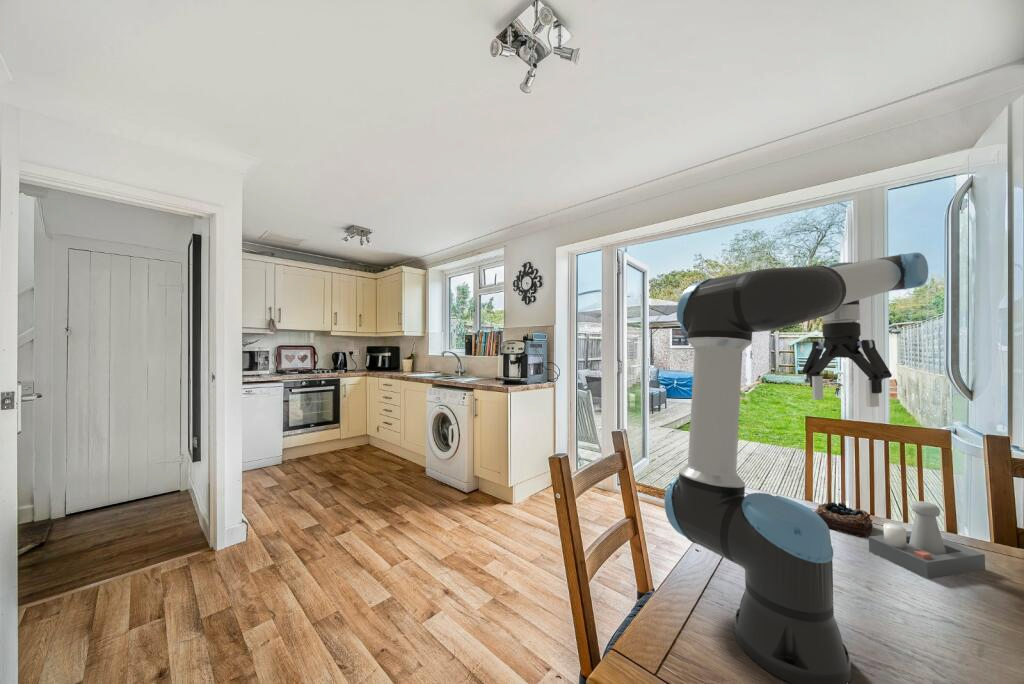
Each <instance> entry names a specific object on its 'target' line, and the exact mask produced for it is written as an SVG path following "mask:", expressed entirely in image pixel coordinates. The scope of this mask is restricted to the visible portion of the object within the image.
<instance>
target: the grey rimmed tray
mask: <svg viewBox="0 0 1024 684" xmlns="http://www.w3.org/2000/svg"><path fill="white" fill-rule="evenodd" d="M911 532H912V530H911V531H907V530H906V528H905V527H904V526H902V525H898V524H894V523H889V522H887V523H883V534H880V535H873V536H872V535H871V536H868V552H870V553H872V554H874V555H876V556H878V557H880V558H883V559H885V560H887V561H889V562H891V563H892V564H895V565H897V566H899V567H900V568H901V567H902V568H903V569H905V570H908V571H910V572H911V573H914V574H916V575H917V576H920V577H922V578H925V579H926V580H932V579H937V578H944V577H951V576H958V575H964V574H971V573H972V574H973V573H977V572H984V570H985V571H986V553H982V552H979V551H977V550H975V549H972V548H971V547H970V548H969V547H967V546H964V545H961V544H959V543H956V542H953V541H950V540H948V539H946V538H943V537H942V540H943V543H944V546H945V549H946V552H947V554H941V555H934V554H931V553H929V552H927V551H924V550H922V549H920V548H917V547H915V546H912V545H910V544H909V542H910V537H911Z"/></svg>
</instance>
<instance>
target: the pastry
mask: <svg viewBox="0 0 1024 684" xmlns="http://www.w3.org/2000/svg"><path fill="white" fill-rule="evenodd" d="M814 512H815V513H817V514H818V515H819V516H820V517H821V518H822V519H823V521H825V523H826V524H827V526H828V528H829V530H830V529H831V530H833V531H838V532H841V533H845V534H849V535H852V536H856V537H860V538H861V537H862V538H866V537H869V535H870V534H871V533H872V531H873V528H874V527H873V526H874V525H873V523H872V522H873V519H871V514H870V513H869V512H867V511H865V510H864V509H860V508H855V509H852V508H851V507H847V505H846V504H845V503H844V502H839V503H838V504H837V503H836V502H830V503H829V502H828V503H827V502H824V503H821V504H819V505H818V507H816V509H815V510H814Z"/></svg>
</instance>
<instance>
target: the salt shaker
mask: <svg viewBox="0 0 1024 684" xmlns="http://www.w3.org/2000/svg"><path fill="white" fill-rule="evenodd" d="M911 508H912V509H911V510H912V511H913V512H914V513H915V515H914V519H913V523H912V528H911V531H912V532H911V537H910V542H909V544H910V545H912V546H915V547H917V548H920V549H922V550H924V551H927V552H929V553H931V554H934V555H941V554H947V552H946V549H945V546H944V543H943V540H942V538H943V537H942V534H941V530H940V527H939V524H938V520H937V517H939V516H940V515H941V510H940V508H939V506H937V505H936V504H934V503H931V502H928V501H922V500H916V501H913V502H912V503H911Z"/></svg>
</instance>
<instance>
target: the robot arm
mask: <svg viewBox="0 0 1024 684" xmlns="http://www.w3.org/2000/svg"><path fill="white" fill-rule="evenodd" d="M928 278H929V265H928V261H927V259H926V257H925V255H923V253H921V252H911V253H910V252H909V253H900V254H896V255H890V256H885V257H879V258H875V259H874V258H872V259H868V260H863V261H862V260H861V261H857V262H851V261H849V262H845V261H844V262H836V263H831V264H830V263H829V264H826V265H820V264H818V265H815V264H813V265H809V266H808V265H807V266H791V267H774V268H773V267H772V268H762V269H756V270H751V271H747V272H741V273H734V274H729V275H724V276H719V277H711V278H710V277H709V278H707V279H704V280H701V281H698V282H694V283H692V284H690V285H689V286H688V287H687V288H686V289H684V290H683V292H682V293H681V295H680V297H679V299H678V303H677V305H676V319H677V323H679V328H680V329H681V330H682V332H683V333H684V334H687V339H686V340H687V342H688V343H689V344H690V346H692V348H693V349H694V353H693V354H694V356H693V357H694V358H693V370H692V371H693V374H692V386H691V387H692V390H691V394H692V395H691V403H690V404H691V405H690V406H691V407H690V422H689V424H690V425H689V443H688V453H687V455H688V458H687V464H686V465H684V466H683V467H682V468H680V469H679V473H678V476H676V477H674V478H673V479H672V480H671V481H670V482H669V487H667V488H666V489H665V493H664V503H663V504H664V505H663V506H664V512H665V515H666V518H667V520H668V522H669V524H670V526H671V527H672V528H673V529H674V530H675V531H676V533H678V534H679V535H681V536H683V537H685V538H686V539H688V541H690V542H692V543H693V544H696V545H699V546H700V547H702V548H704V549H706V550H709V551H710V552H713V553H714V554H716V555H718V556H720V557H722V558H724V559H726V560H728V561H730V562H732V563H733V564H736V565H738V566H739V567H742V568H743V569H744V578H745V579H744V581H745V588H744V591H743V594H742V597H741V599H740V604H739V608H737V610H736V613H735V618H734V634H735V637H736V640H737V643H738V644H739V646H740V647H741V649H742V650H743V651H744V652H745V653H746V654H747V656H749V658H750V659H751V660H753V661H754V662H755V663H756V664H757V665H758V666H760V667H762V668H763V669H764V670H766V671H767V672H769V673H770V674H772V675H773V676H775V677H777V678H779V679H782V680H784V681H786V682H788V683H790V684H847V683H848V682H849V681H850V682H851V680H850V679H852V665H851V663H852V662H851V657H850V654H849V653H850V652H848V649H847V647H846V645H845V644H844V642H843V638H842V633H841V632H840V629H839V626H838V623H837V621H836V618H835V615H834V610H835V609H834V573H833V571H834V570H833V564H834V563H833V557H834V548H833V546H832V539H831V531H830V528H828V526H827V524H826V523H825V521H823V519H822V518H821V517H820V516H819V515H818V514H817V513H815V510H812V509H811V508H810V507H808V506H806V505H804V504H802V503H800V502H798V501H795V500H793V499H790V498H788V497H783V496H780V495H772V494H771V493H766V492H753V493H749V494H747V495H745V492H746V488H745V487H746V483H745V481H744V480H743V479H742V478H741V477H740V475H738V473H737V467H738V466H737V463H738V446H739V443H738V442H739V428H740V427H739V425H740V407H741V406H740V405H741V404H740V403H741V388H742V387H741V386H742V365H743V364H742V363H743V351H744V350H746V349H747V348H748V347H750V345H752V343H753V333H761V332H771V331H775V330H777V331H778V330H780V329H786V328H788V327H792V326H796V325H800V324H803V323H805V322H806V323H807V322H809V321H812V320H815V319H818V318H821V322H823V325H821V326H822V327H821V328H822V337H823V338H824V341H823V340H817V341H816V340H814V341H812V345H811V350H810V353H809V355H808V357H807V359H806V360H805V361H806V362H805V363H804V366H803V368H802V370H801V371H802V374H807V375H808V376H809V385H810V388H811V389H812V400H815V401H816V400H817V401H818V400H824V379H823V378H824V376H823V375H821V374H822V372H823V371H824V370H825V369H826V368H827V366H828V365H829V364H830V363H831V361H833V359H836V358H848V359H850V360H852V362H854V363H855V365H856V366H857V367H858V368H859V369H860V370H861V371H862V372H863V373H864V374H865V375H866V376H867V377H868V379H866V380H865V393H866V395H865V396H866V397H865V400H866V401H865V402H866V407H868V408H876V407H878V408H879V407H880V394H882V393H883V388H882V387H883V386H882V384H883V383H882V382H883V380H884V379H889V378H891V377H892V375H893V374H892V372H891V371H890V370H889V368H888V366H887V364H886V363H885V361H884V360H883V358H882V357H881V355H880V353H879V352H878V350H877V348H876V343H875V340H874V339H862V340H860V336H861V335H862V334H861V323H860V322H858V321H859V320H861V318H860V317H861V314H860V313H861V312H860V309H861V308H860V300H862V299H866V298H870V297H873V296H877V295H879V294H884V293H887V292H892V291H900V290H908V289H913V288H919V287H922V286H924V285H925V284H926V282H927V281H928ZM824 349H825V350H824ZM860 349H862V351H863V352H862V351H860ZM850 682H849V683H850Z"/></svg>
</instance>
